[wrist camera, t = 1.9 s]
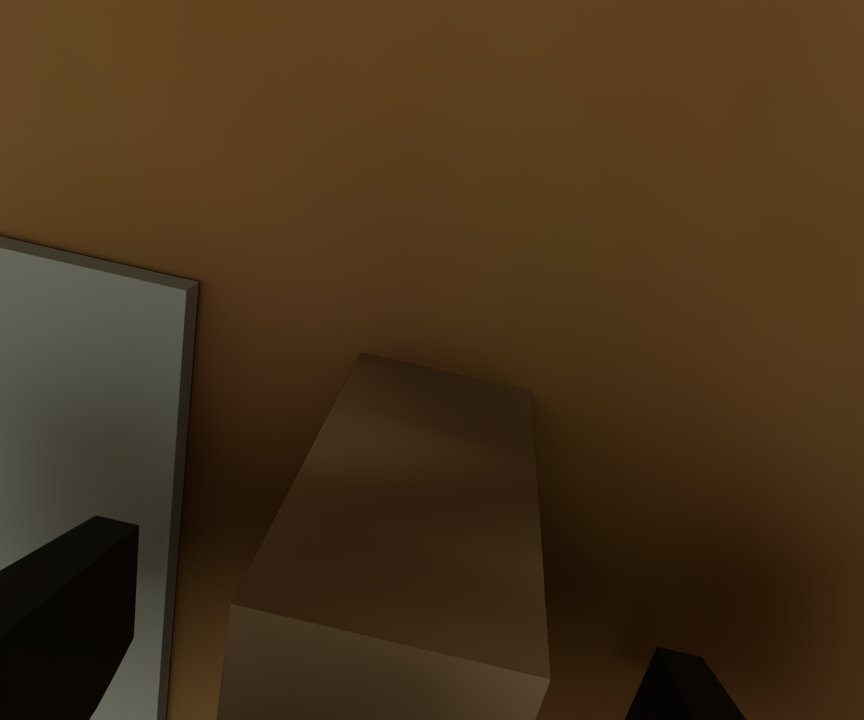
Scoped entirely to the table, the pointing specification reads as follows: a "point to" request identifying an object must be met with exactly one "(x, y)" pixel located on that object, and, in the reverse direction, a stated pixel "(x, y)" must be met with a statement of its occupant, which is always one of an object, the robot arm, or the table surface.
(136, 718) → the mat
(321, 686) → the bar
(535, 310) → the table surface
